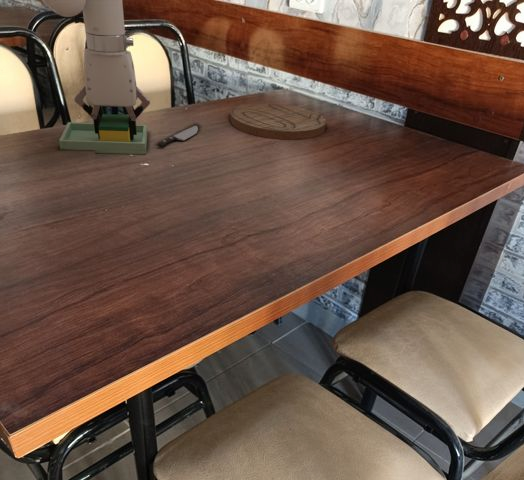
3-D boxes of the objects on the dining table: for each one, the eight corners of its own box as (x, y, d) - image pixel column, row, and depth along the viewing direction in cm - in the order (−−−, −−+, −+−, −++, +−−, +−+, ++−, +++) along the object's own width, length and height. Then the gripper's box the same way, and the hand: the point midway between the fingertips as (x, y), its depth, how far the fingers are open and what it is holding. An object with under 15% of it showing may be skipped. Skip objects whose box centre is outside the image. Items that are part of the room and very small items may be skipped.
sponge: (100, 146, 108) (98, 126, 105) (104, 132, 115) (102, 113, 112) (129, 146, 109) (127, 127, 106) (131, 133, 116) (130, 114, 113)
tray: (60, 152, 106) (58, 140, 104) (69, 132, 115) (67, 122, 114) (145, 154, 108) (144, 143, 107) (147, 135, 118) (146, 124, 117)
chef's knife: (207, 129, 125) (196, 126, 126) (207, 124, 124) (196, 121, 125) (168, 150, 111) (156, 147, 112) (168, 145, 110) (156, 142, 111)
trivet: (275, 106, 146) (276, 98, 145) (344, 129, 134) (345, 121, 133) (210, 118, 132) (210, 111, 131) (280, 146, 119) (281, 137, 118)
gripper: (151, 42, 104) (156, 133, 116) (63, 37, 101) (78, 131, 113) (150, 49, 99) (156, 144, 110) (57, 44, 96) (73, 142, 107)
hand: (116, 136), depth 111 cm, fingers closed on sponge, 6 cm apart
